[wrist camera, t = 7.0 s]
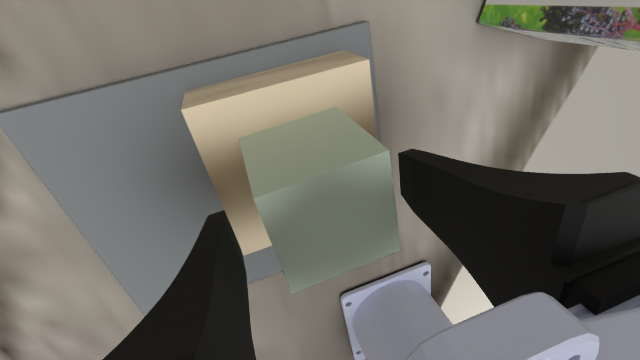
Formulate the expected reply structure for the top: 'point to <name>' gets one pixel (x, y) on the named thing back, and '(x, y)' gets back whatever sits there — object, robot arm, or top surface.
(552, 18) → the syrup box
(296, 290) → the sage block
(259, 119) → the oak base
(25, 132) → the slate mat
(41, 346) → the top surface
